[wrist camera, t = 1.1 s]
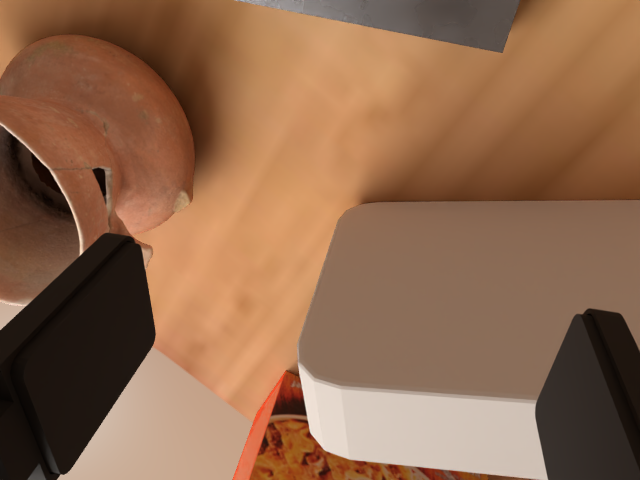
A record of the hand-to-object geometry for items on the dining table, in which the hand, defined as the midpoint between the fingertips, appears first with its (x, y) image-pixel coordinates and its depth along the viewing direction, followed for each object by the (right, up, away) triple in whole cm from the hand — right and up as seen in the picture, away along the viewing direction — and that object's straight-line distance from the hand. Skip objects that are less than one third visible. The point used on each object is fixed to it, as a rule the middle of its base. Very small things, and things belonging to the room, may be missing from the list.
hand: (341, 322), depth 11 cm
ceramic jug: (-16, +11, +27) cm, 34 cm away
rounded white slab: (+16, +2, +25) cm, 30 cm away
